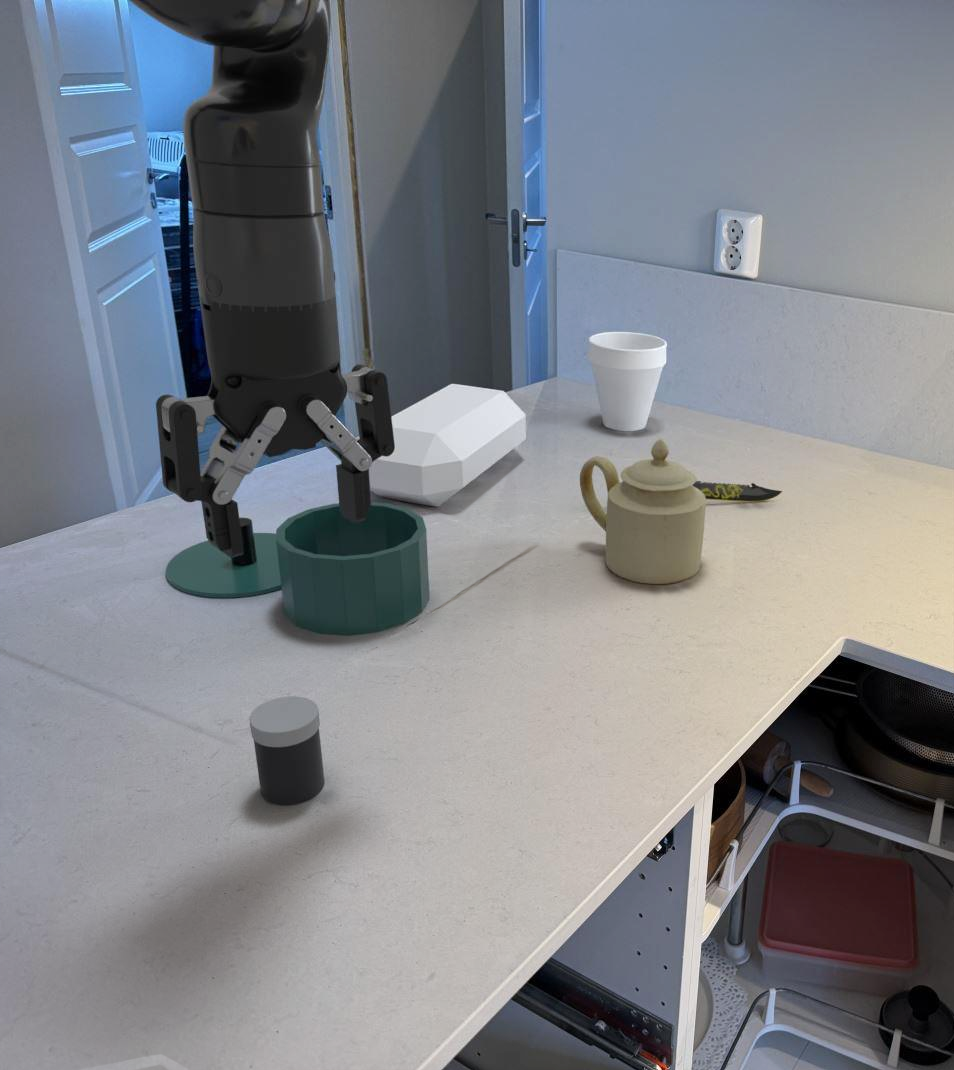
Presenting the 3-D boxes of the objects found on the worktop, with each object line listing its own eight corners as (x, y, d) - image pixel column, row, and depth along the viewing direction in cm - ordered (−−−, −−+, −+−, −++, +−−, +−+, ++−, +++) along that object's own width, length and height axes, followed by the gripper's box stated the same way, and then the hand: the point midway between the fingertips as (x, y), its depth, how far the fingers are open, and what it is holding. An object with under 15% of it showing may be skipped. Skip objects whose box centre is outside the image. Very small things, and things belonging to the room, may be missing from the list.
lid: (134, 580, 101) (125, 530, 98) (248, 531, 113) (242, 485, 111) (242, 616, 96) (235, 564, 94) (349, 561, 108) (345, 514, 106)
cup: (631, 442, 152) (635, 354, 146) (570, 424, 157) (571, 338, 152) (677, 424, 161) (683, 341, 156) (618, 408, 167) (621, 327, 161)
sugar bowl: (562, 576, 109) (564, 447, 103) (581, 536, 119) (583, 416, 113) (697, 589, 108) (707, 460, 102) (704, 547, 118) (713, 428, 112)
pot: (253, 616, 96) (243, 537, 92) (352, 564, 108) (346, 492, 104) (365, 654, 91) (358, 571, 88) (456, 595, 103) (453, 520, 100)
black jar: (245, 794, 73) (234, 720, 70) (292, 760, 77) (284, 689, 74) (293, 814, 71) (284, 739, 69) (339, 778, 75) (332, 706, 73)
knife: (775, 514, 136) (782, 480, 134) (779, 518, 135) (786, 484, 133) (609, 505, 128) (615, 469, 126) (612, 509, 126) (617, 473, 125)
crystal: (334, 429, 118) (442, 374, 143) (340, 504, 122) (444, 437, 147) (446, 446, 116) (536, 387, 141) (449, 522, 120) (535, 451, 145)
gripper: (343, 269, 66) (360, 493, 73) (114, 287, 56) (157, 545, 63) (408, 289, 62) (419, 525, 69) (171, 312, 52) (211, 586, 59)
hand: (294, 534), depth 66 cm, fingers open, 8 cm apart
